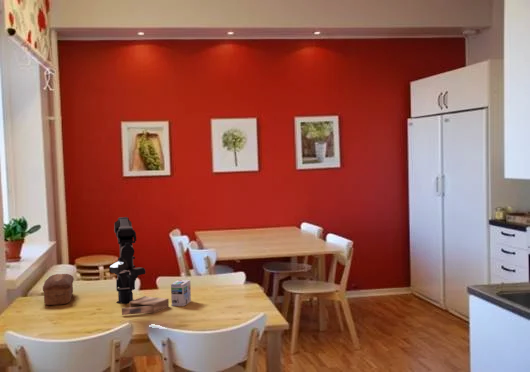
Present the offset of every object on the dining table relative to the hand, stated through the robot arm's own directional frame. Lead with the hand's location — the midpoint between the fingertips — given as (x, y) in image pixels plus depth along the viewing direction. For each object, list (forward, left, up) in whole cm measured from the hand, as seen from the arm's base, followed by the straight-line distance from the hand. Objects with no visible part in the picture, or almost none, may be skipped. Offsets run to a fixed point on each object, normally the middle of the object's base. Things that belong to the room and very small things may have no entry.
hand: (127, 288), depth 279 cm
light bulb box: (+12, +26, -12) cm, 31 cm away
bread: (-52, +10, -12) cm, 54 cm away
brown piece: (+3, +12, -12) cm, 17 cm away
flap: (+5, +1, -12) cm, 12 cm away
